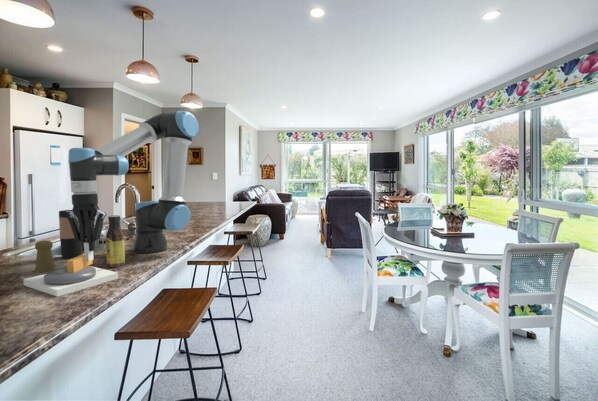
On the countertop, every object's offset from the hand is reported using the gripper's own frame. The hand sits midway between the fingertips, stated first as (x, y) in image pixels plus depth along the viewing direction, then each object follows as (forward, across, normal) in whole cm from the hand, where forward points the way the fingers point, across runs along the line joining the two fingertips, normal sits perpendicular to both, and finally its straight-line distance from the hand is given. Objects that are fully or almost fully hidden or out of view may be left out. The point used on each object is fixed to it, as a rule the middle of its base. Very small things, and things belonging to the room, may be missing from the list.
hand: (89, 260), depth 115 cm
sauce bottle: (+6, +2, +13) cm, 15 cm away
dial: (+4, -1, -6) cm, 7 cm away
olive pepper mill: (+6, -21, +8) cm, 23 cm away
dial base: (+6, -2, -6) cm, 8 cm away
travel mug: (+6, -24, +26) cm, 36 cm away
